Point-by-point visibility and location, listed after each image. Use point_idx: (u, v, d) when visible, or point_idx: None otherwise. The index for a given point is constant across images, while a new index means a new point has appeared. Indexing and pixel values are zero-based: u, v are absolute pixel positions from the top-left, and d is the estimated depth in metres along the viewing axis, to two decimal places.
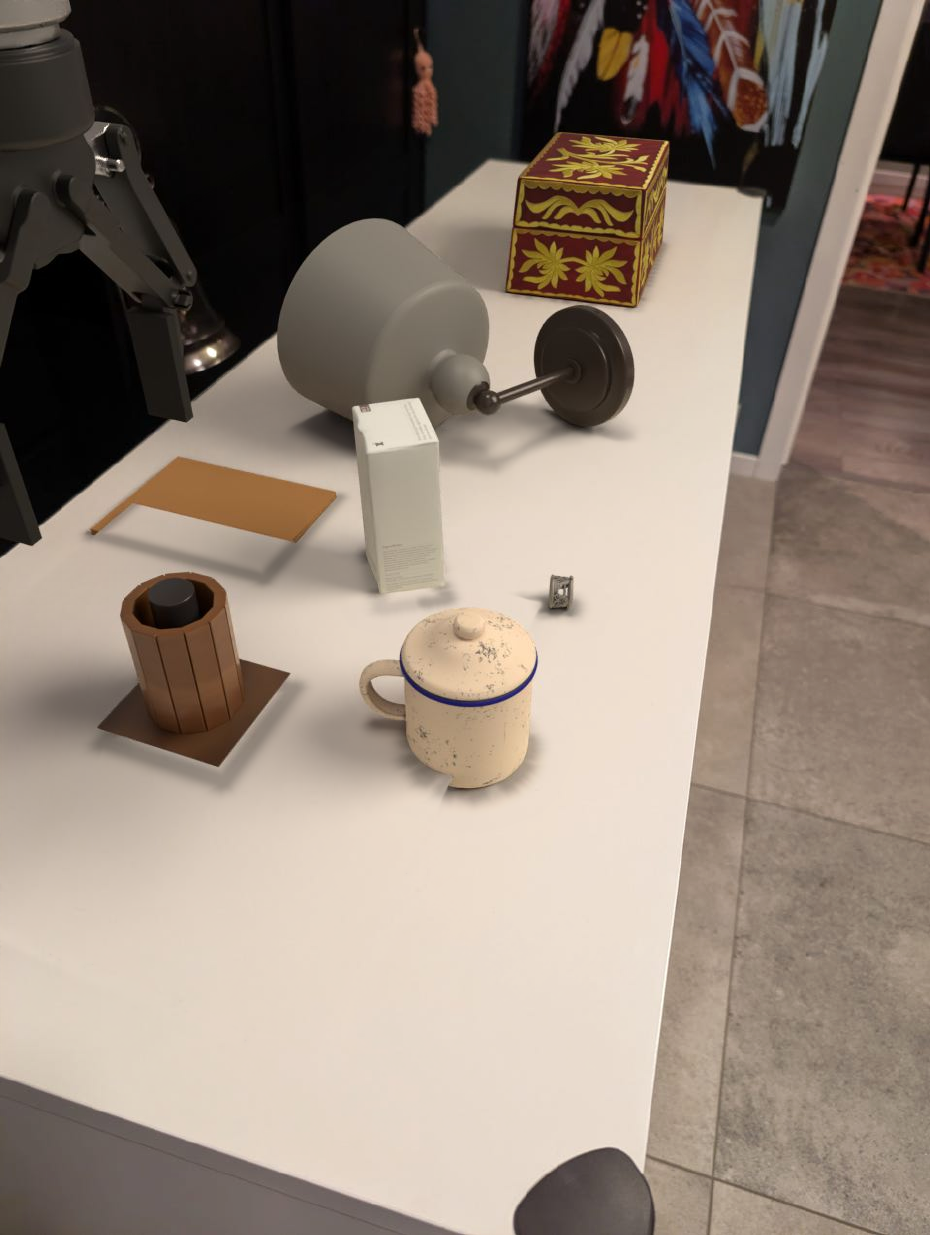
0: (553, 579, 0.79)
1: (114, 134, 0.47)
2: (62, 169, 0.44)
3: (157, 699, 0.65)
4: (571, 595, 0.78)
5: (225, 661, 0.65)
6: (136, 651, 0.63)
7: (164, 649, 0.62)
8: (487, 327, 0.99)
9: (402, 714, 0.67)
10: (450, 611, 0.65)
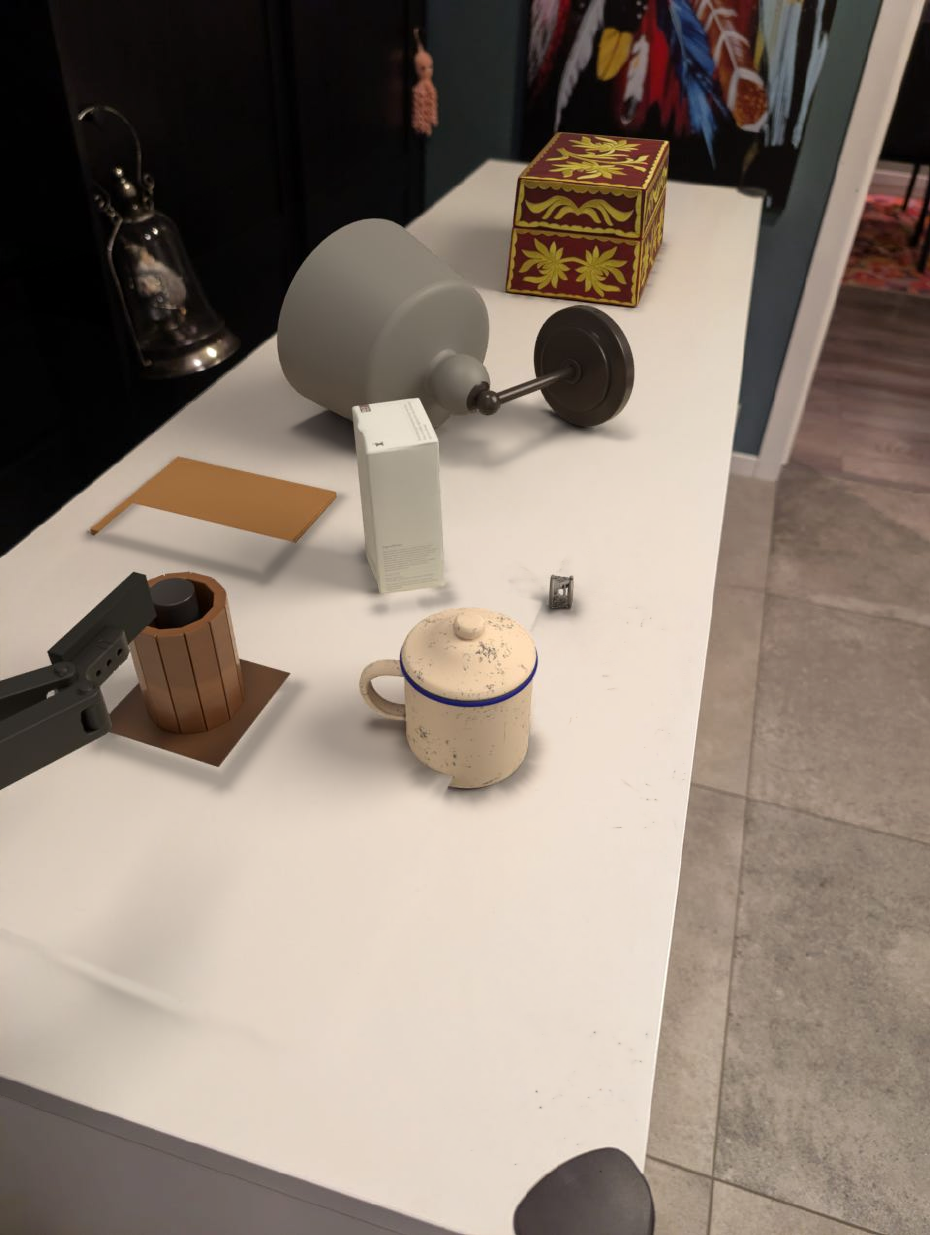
0: (553, 579, 0.79)
1: None
2: None
3: (157, 699, 0.65)
4: (571, 595, 0.78)
5: (225, 661, 0.65)
6: (136, 651, 0.63)
7: (164, 649, 0.62)
8: (487, 327, 0.99)
9: (402, 714, 0.67)
10: (450, 611, 0.65)
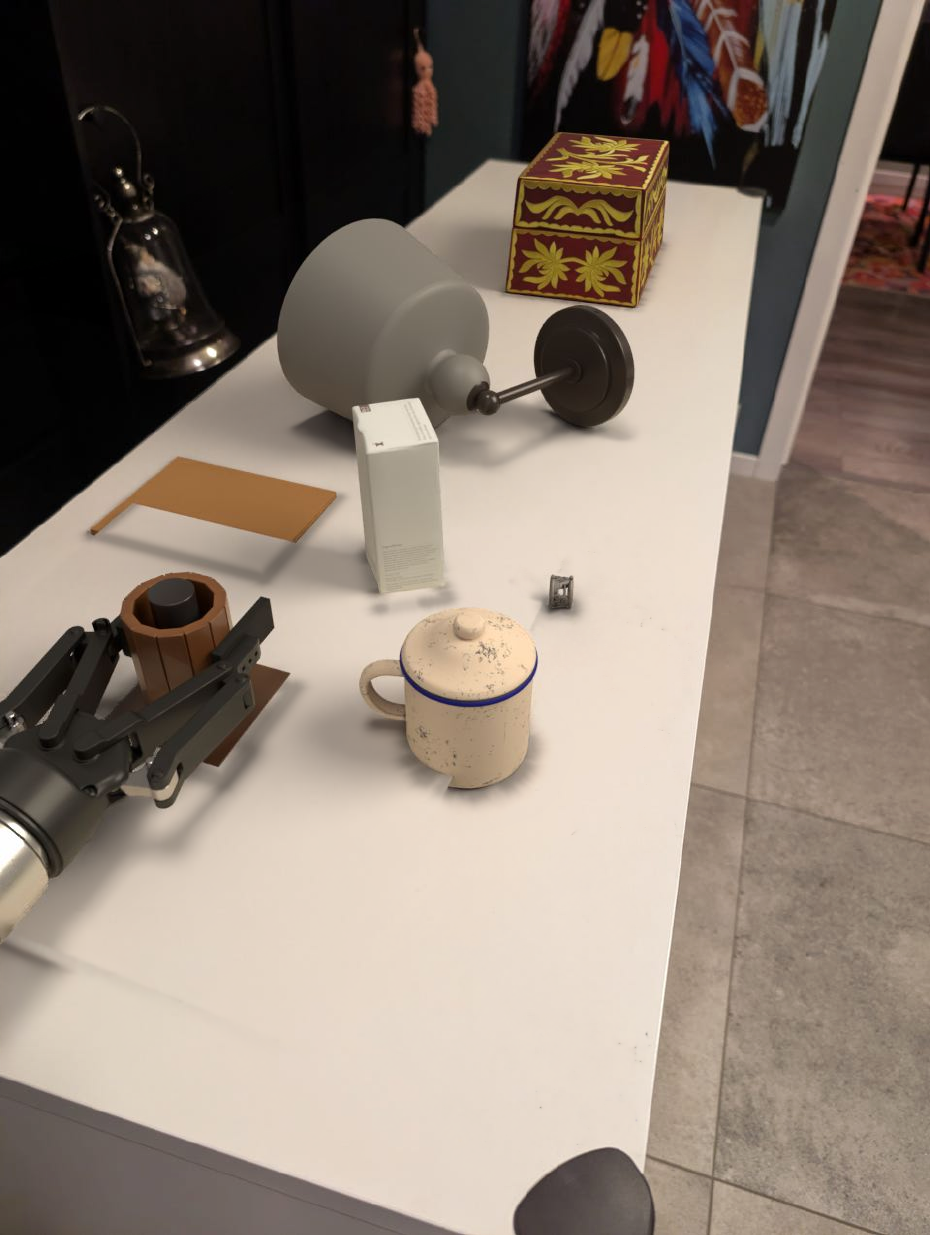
0: (553, 579, 0.79)
1: (155, 802, 0.57)
2: None
3: None
4: (571, 595, 0.78)
5: None
6: (136, 651, 0.63)
7: (164, 649, 0.62)
8: (487, 327, 0.99)
9: (402, 714, 0.67)
10: (450, 611, 0.65)
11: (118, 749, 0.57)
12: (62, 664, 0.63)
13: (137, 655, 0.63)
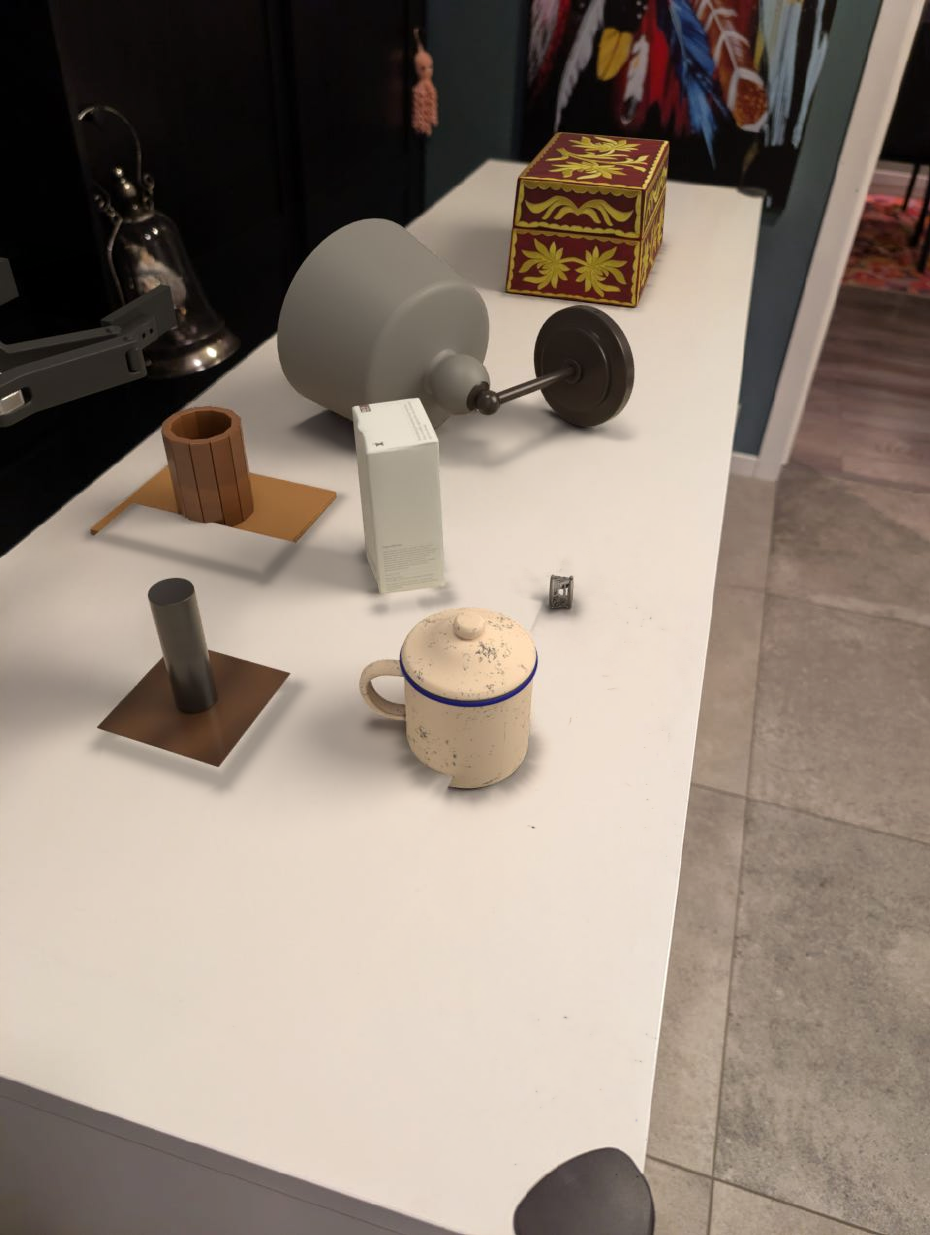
0: (553, 579, 0.79)
1: None
2: None
3: (188, 500, 0.86)
4: (571, 595, 0.78)
5: (240, 471, 0.86)
6: (173, 459, 0.84)
7: (194, 454, 0.82)
8: (487, 327, 0.99)
9: (402, 714, 0.67)
10: (450, 611, 0.65)
11: None
12: None
13: (174, 462, 0.84)
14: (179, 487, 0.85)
